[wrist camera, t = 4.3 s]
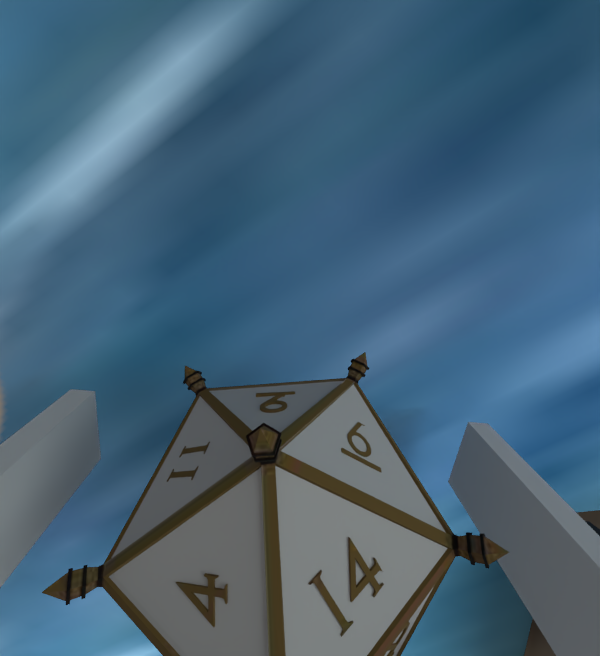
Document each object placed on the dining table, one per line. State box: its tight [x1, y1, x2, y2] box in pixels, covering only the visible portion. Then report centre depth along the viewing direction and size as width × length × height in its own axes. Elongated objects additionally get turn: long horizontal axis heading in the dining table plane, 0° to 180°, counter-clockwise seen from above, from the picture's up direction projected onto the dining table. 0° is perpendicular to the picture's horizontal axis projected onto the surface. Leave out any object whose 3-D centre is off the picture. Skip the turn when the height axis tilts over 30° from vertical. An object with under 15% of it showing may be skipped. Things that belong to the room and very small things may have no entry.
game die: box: [42, 352, 509, 656], centre depth 8 cm, size 9×8×10 cm
